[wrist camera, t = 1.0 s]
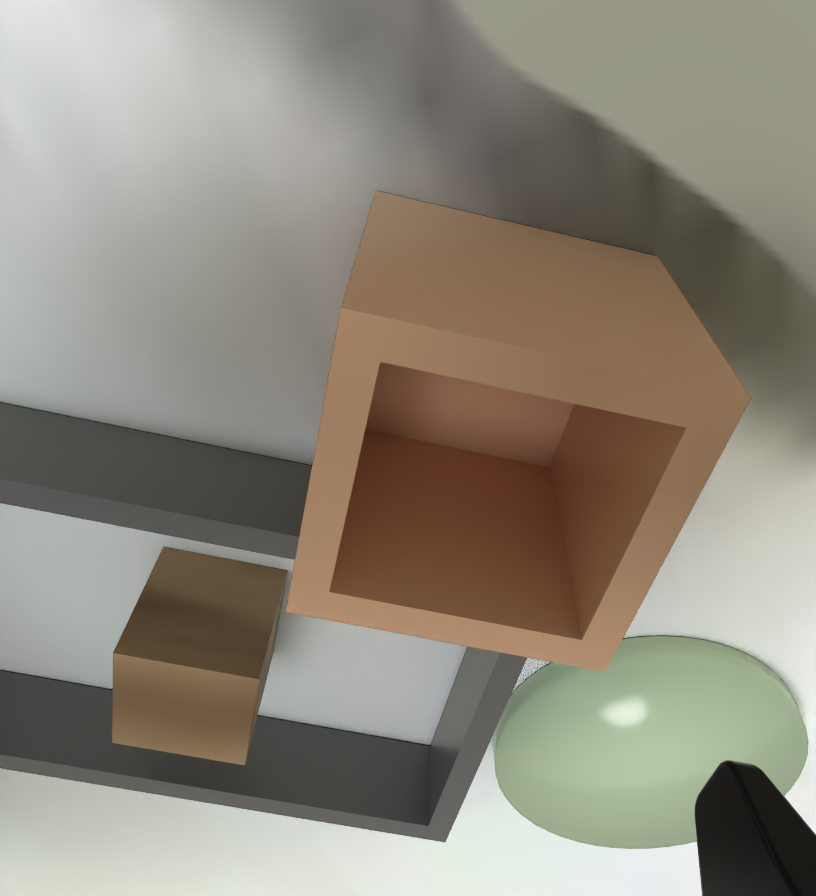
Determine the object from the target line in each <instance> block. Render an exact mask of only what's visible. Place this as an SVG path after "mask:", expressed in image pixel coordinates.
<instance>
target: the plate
mask: <svg viewBox="0 0 816 896" xmlns="http://www.w3.org/2000/svg"><path fill="white" fill-rule="evenodd" d="M493 741H494V760H495V773H496V777H497V780H498V784H499V787H500V788H501V790H502V792H503V794H504V796H505V797H506V799H507V800H508V801H509V802H510V804H511V805H512V806H513V807H514V808H515V809H516V810H517V811H518V812H519V813H520V814H521V815H522V816H524V817H525V818H527V819H528V820H529V821H531V822H532V823H534V824H535V825H537V826H539V827H541V828H543V829H545V830H547V831H549V832H551V833H554V834H556V835H558V836H561V837H564V838H567V839H570V840H574V841H577V842H581V843H586V844H591V845H595V846H603V847H611V848H626V849H645V848H660V847H670V846H676V845H682V844H688V843H692V842H696V841H697V836H696V825H695V813H694V812H695V803H696V799H697V796H698V794H699V793H700V791H701V790H702V788H703V787H704V785H705V784H706V783H707V781H708V780H709V778H710V777H711V775H712V774H713V773H714V771H715V770H716V768H717V767H718V765H719V764H720V763H721V762H723V761H726V760H732V761H738V762H744V763H750V764H753V765H756V766H757V767H759V768H760V769H761V770H762V771H763V772H764V773H765V774H766V775H767V776H768V777H769V779H770V780H771V781H772V782H773V784H774V785H775V786H776V787H777V788H778V790H779V791H780V792H781V793H782V794H783V796H784V795H785V794H786V793H787V792H788V791H789V790H790V789H791V788H792V786H793V785H794V784H795V782H796V781H797V779H798V778H799V776H800V774H801V772H802V770H803V768H804V765H805V762H806V758H807V754H808V736H807V731H806V727H805V724H804V722H803V720H802V717H801V715H800V713H799V711H798V709H797V706H796V704H795V702H794V700H793V698H792V695H791V693H790V691H789V690H788V688H787V687H786V685H785V684H784V683H783V681H782V680H781V679H780V678H779V677H778V676H777V675H776V674H775V673H774V672H773V671H772V670H771V669H770V668H768V667H767V666H765V665H764V664H763V663H761V662H760V661H758V660H757V659H755V658H753V657H751V656H749V655H747V654H745V653H743V652H741V651H739V650H736V649H733V648H731V647H728V646H725V645H722V644H718V643H714V642H710V641H706V640H700V639H693V638H686V637H671V636H650V637H635V638H628V639H622V641H621V643H620V645H619V647H618V649H617V651H616V652H615V654H614V656H613V658H612V660H611V662H610V664H609V666H608V667H607V669H606V671H605V672H603V671H597V670H592V669H587V668H581V667H576V666H571V665H565V664H560V663H555V662H552V663H550V664H549V665H547V666H545V667H543V668H541V669H540V670H539V671H537V672H536V673H535V674H533V675H532V676H530V677H529V678H528V679H526V680H525V681H524V682H523V683H522V684H521V685H520V686H519V687H518V688H517V689H516V690H515V691H514V692H513V694H512V695H511V696H510V697H509V700H508V702H507V704H506V706H505V709H504V711H503V713H502V715H501V718H500V720H499V722H498V724H497V727H496V729H495V731H494V738H493Z"/></svg>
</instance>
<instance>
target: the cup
mask: <svg viewBox="0 0 816 896" xmlns="http://www.w3.org/2000/svg"><path fill="white" fill-rule="evenodd" d="M750 399H751V397H750V396H749V394H748V393H747V391H746V390H745V388H744V387H743V385H742V383H741V382H740V380H739V379H738V377H737V376H736V374H735V373H734V371H733V370H732V368H731V367H730V365H729V364H728V362H727V361H726V359H725V358H724V356H723V355H722V353H721V352H720V350H719V349H718V347H717V346H716V344H715V343H714V341H713V340H712V338H711V336H710V335H709V333H708V332H707V330H706V329H705V327H704V326H703V324H702V323H701V321H700V320H699V318H698V317H697V315H696V314H695V312H694V311H693V309H692V308H691V306H690V305H689V303H688V302H687V300H686V299H685V297H684V296H683V294H682V293H681V291H680V289H679V288H678V286H677V285H676V283H675V282H674V280H673V279H672V277H671V276H670V274H669V273H668V271H667V270H666V268H665V267H664V265H663V264H662V262H661V261H660V259H659V258H658V256H654V255H650V254H645V253H641V252H637V251H632V250H628V249H624V248H620V247H615V246H611V245H607V244H602V243H598V242H594V241H589V240H585V239H581V238H577V237H572V236H568V235H564V234H559V233H555V232H551V231H547V230H542V229H538V228H534V227H529V226H525V225H521V224H517V223H512V222H508V221H504V220H499V219H495V218H491V217H487V216H482V215H478V214H474V213H469V212H465V211H461V210H457V209H452V208H448V207H444V206H439V205H435V204H431V203H426V202H422V201H418V200H414V199H409V198H405V197H401V196H396V195H392V194H388V193H384V192H379V191H376V192H375V195H374V198H373V202H372V205H371V209H370V212H369V215H368V219H367V222H366V225H365V229H364V232H363V235H362V239H361V242H360V245H359V249H358V252H357V256H356V259H355V262H354V266H353V269H352V272H351V276H350V279H349V282H348V286H347V289H346V292H345V296H344V299H343V303H342V306H341V310H340V316H339V321H338V327H337V332H336V338H335V343H334V349H333V354H332V360H331V365H330V371H329V376H328V382H327V387H326V393H325V398H324V404H323V409H322V415H321V420H320V426H319V431H318V437H317V442H316V448H315V453H314V459H313V464H312V470H311V476H310V481H309V487H308V492H307V498H306V503H305V509H304V514H303V520H302V525H301V531H300V536H299V542H298V547H297V553H296V558H295V564H294V569H293V575H292V580H291V586H290V591H289V597H288V602H287V608H286V612H288V613H293V614H299V615H304V616H309V617H315V618H320V619H325V620H331V621H336V622H341V623H347V624H352V625H357V626H363V627H368V628H373V629H379V630H384V631H389V632H395V633H400V634H405V635H411V636H416V637H421V638H427V639H432V640H437V641H443V642H448V643H453V644H459V645H464V646H469V647H475V648H480V649H485V650H491V651H496V652H501V653H507V654H512V655H517V656H523V657H528V658H533V659H539V660H544V661H549V662H555V663H560V664H565V665H571V666H576V667H581V668H587V669H592V670H597V671H603V672H605V671H606V669H607V667H608V666H609V664H610V662H611V660H612V658H613V656H614V654H615V652H616V651H617V649H618V647H619V645H620V643H621V641H622V639H623V637H624V636H625V634H626V632H627V630H628V628H629V626H630V624H631V622H632V621H633V619H634V617H635V615H636V613H637V611H638V609H639V607H640V606H641V604H642V602H643V600H644V598H645V596H646V594H647V592H648V591H649V589H650V587H651V585H652V583H653V581H654V579H655V577H656V576H657V574H658V572H659V570H660V568H661V566H662V564H663V562H664V561H665V559H666V557H667V555H668V553H669V551H670V549H671V547H672V546H673V544H674V542H675V540H676V538H677V536H678V534H679V532H680V531H681V529H682V527H683V525H684V523H685V521H686V519H687V517H688V516H689V514H690V512H691V510H692V508H693V506H694V504H695V502H696V501H697V499H698V497H699V495H700V493H701V491H702V489H703V487H704V486H705V484H706V482H707V480H708V478H709V476H710V474H711V472H712V471H713V469H714V467H715V465H716V463H717V461H718V459H719V457H720V456H721V454H722V452H723V450H724V448H725V446H726V444H727V442H728V441H729V439H730V437H731V435H732V433H733V431H734V429H735V427H736V426H737V424H738V422H739V420H740V418H741V416H742V414H743V412H744V411H745V409H746V407H747V405H748V403H749V401H750Z"/></svg>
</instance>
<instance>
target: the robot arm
mask: <svg viewBox="0 0 816 896" xmlns="http://www.w3.org/2000/svg"><path fill="white" fill-rule="evenodd" d="M694 813H695V825H696V836H697V846H698V856H699V867H700V877H701V887H702V896H816V834H815V833H814V832H813V831H812V830H811V828H810V827H809V826H808V825H807V824H806V822H805V821H804V820H803V819H802V817H801V816H800V815H799V814H798V813H797V811H796V810H795V809H794V808H793V807H792V805H791V804H790V803H789V802H788V800H787V799H786V798H785V797H784V796H783V794H782V793H781V792H780V791H779V790H778V788H777V787H776V786H775V785H774V784H773V782H772V781H771V780H770V779H769V777H768V776H767V775H766V774H765V773H764V772H763V771H762V770H761V769H760V768H759V767H757V766H756V765H753V764H750V763H744V762H738V761H732V760H726V761H723V762H721V763H720V764H719V765H718V767H717V768H716V770H715V771H714V773H713V774H712V775H711V777H710V778H709V780H708V781H707V783H706V784H705V785H704V787H703V788H702V790H701V791H700V793H699V794H698V796H697V799H696V803H695V812H694Z"/></svg>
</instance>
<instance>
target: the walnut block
mask: <svg viewBox="0 0 816 896" xmlns="http://www.w3.org/2000/svg"><path fill="white" fill-rule="evenodd" d="M286 576H287V570H283V569H278V568H273V567H268V566H262V565H257V564H252V563H247V562H241V561H236V560H231V559H226V558H221V557H215V556H210V555H205V554H200V553H194V552H189V551H184V550H179V549H173V548H168V547H163V549H162V551H161V553H160V555H159V558H158V560H157V562H156V564H155V566H154V568H153V570H152V572H151V574H150V576H149V579H148V581H147V583H146V585H145V587H144V589H143V591H142V593H141V595H140V597H139V600H138V602H137V604H136V606H135V608H134V610H133V612H132V614H131V616H130V619H129V621H128V623H127V625H126V627H125V629H124V631H123V633H122V635H121V637H120V640H119V642H118V644H117V646H116V648H115V650H114V652H113V716H112V743H117V744H123V745H129V746H134V747H140V748H146V749H152V750H158V751H164V752H169V753H175V754H181V755H187V756H193V757H199V758H204V759H210V760H216V761H222V762H228V763H234V764H239V765H245V763H246V759H247V755H248V751H249V747H250V743H251V739H252V735H253V731H254V727H255V723H256V719H257V715H258V711H259V707H260V703H261V699H262V695H263V691H264V687H265V683H266V679H267V675H268V671H269V667H270V663H271V659H272V655H273V650H274V644H275V639H276V633H277V627H278V622H279V616H280V610H281V604H282V599H283V593H284V587H285V582H286Z"/></svg>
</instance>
